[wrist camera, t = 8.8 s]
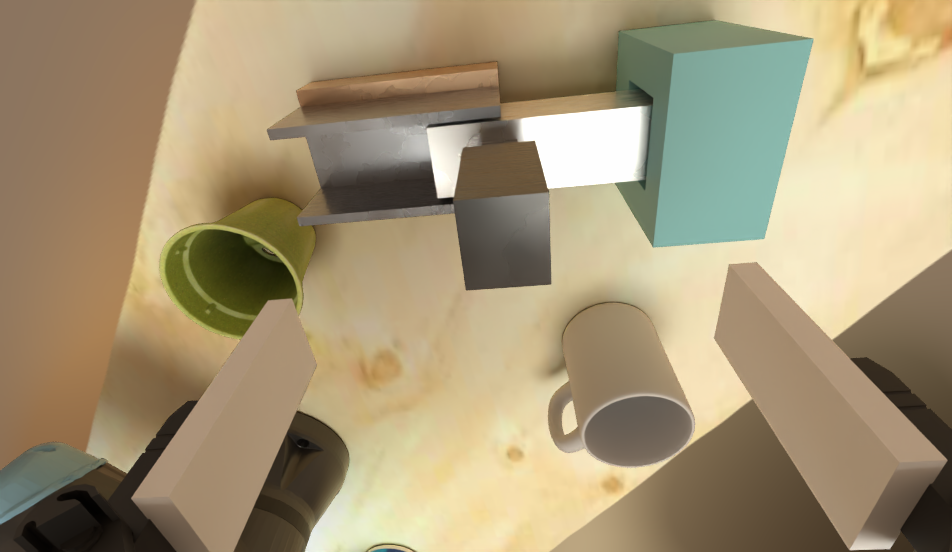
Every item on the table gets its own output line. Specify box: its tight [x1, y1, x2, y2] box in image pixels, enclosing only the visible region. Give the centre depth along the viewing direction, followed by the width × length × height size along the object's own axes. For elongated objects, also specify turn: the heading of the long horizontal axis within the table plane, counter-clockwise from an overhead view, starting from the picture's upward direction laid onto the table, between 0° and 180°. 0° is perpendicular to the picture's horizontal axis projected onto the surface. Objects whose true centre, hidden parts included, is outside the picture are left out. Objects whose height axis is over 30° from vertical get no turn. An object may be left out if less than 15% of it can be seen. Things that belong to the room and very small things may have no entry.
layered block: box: [267, 61, 501, 226], centre depth 31 cm, size 13×8×8 cm, turn 96°
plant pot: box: [159, 198, 316, 340], centre depth 35 cm, size 9×9×9 cm
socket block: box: [615, 20, 813, 247], centre depth 28 cm, size 6×10×11 cm, turn 6°
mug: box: [548, 303, 695, 468], centre depth 40 cm, size 12×8×11 cm
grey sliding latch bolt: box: [426, 89, 653, 290], centre depth 24 cm, size 16×4×15 cm, turn 96°
